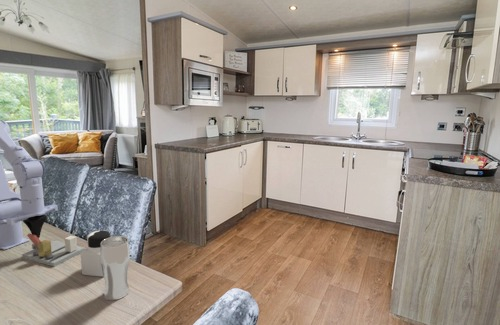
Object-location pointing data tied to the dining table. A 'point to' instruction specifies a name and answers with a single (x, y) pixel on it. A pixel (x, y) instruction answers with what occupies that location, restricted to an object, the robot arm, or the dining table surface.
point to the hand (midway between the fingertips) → (36, 237)
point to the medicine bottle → (93, 254)
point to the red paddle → (34, 239)
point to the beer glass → (115, 266)
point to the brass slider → (44, 248)
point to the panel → (53, 254)
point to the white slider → (70, 243)
